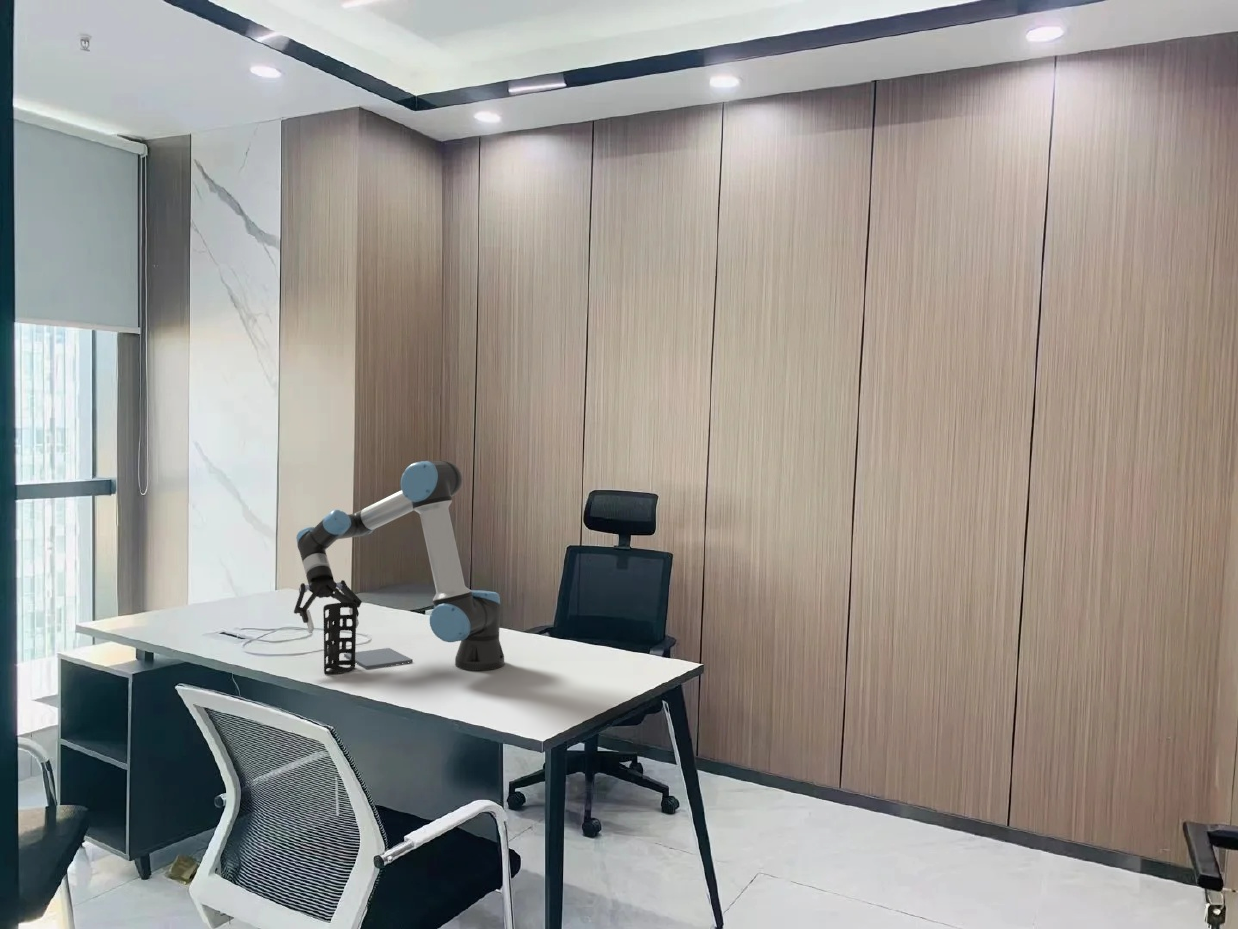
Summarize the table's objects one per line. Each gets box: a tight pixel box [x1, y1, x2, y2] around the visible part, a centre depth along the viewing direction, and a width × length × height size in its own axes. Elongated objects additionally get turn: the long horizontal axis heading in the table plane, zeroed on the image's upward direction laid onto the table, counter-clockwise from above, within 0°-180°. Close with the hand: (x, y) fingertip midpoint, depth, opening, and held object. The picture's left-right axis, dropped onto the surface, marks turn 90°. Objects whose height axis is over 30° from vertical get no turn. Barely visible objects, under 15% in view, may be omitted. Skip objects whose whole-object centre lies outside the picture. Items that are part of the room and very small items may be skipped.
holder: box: [322, 602, 358, 675], centre depth 265 cm, size 11×8×20 cm
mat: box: [343, 647, 414, 670], centre depth 279 cm, size 18×15×1 cm
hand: (334, 628), depth 266 cm, fingers open, 13 cm apart
